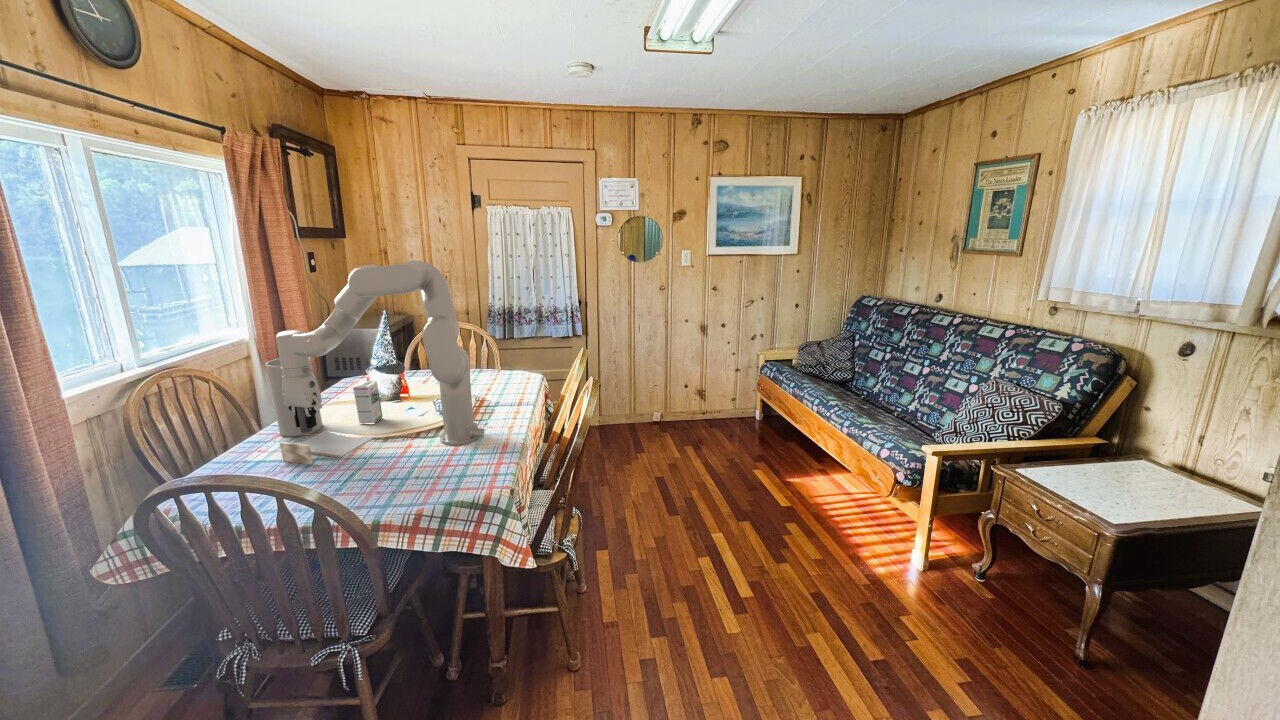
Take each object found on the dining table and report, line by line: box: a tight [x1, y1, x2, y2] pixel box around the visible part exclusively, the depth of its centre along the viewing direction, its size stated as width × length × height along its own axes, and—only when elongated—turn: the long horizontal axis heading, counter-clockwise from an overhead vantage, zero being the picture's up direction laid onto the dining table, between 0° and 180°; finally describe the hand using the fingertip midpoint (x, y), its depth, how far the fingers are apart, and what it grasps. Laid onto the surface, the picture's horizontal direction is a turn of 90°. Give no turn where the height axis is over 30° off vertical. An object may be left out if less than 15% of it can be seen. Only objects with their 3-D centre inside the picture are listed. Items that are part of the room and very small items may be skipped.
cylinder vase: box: [265, 357, 323, 438], centre depth 174 cm, size 12×12×25 cm
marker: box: [297, 407, 313, 436], centre depth 161 cm, size 4×4×12 cm
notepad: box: [299, 430, 375, 459], centre depth 167 cm, size 20×16×1 cm
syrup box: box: [352, 380, 384, 424], centre depth 183 cm, size 6×6×14 cm
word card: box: [279, 441, 314, 465], centre depth 154 cm, size 10×1×6 cm, turn 77°
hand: (306, 425), depth 162 cm, fingers closed on marker, 3 cm apart
